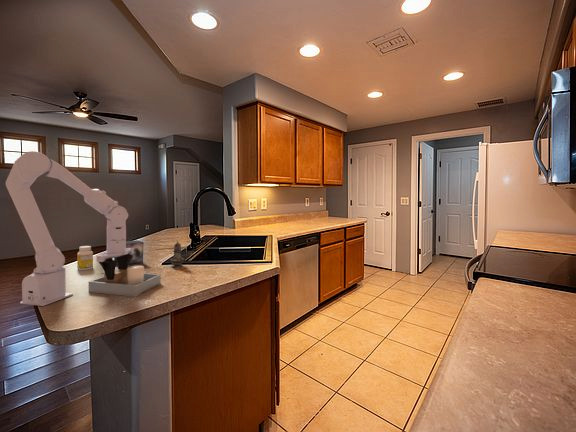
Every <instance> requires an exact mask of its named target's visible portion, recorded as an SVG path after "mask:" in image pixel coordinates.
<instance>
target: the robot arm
mask: <svg viewBox="0 0 576 432" xmlns="http://www.w3.org/2000/svg"><path fill="white" fill-rule="evenodd" d="M12 165H13V166H12V167H11V170H10V172H9V174H8V175H7V178H6V180H5V187H6V189H7V191H8V193H9V196H10V197H11V199H12V202H13V204H14V207H15V210H16V211H17V214H18V215H19V217H20V220H21V223H22V224H23V227H24V229H25V231H26V234H27V235H28V237H29V239H30V242H31V244H32V246H33V248H34V251H35V255H34V260H35V262H36V263H35V264H36V267H35V268H33V272H32V273H31V274H30V275H27V276H25V277H24V278H23V279H22V282H21V295H22V296H21V298H22V300H21V301H20V302H19V304H21V305H30V306H39V307H44V306H47V305H50V304H52V303H54V302H57V301H60V300H63V299H65V298H68V297H71V296H73V295H74V293H73V292H66V291H67V289H66V288H67V287H66V284H67V283H66V266H65V262H66V258H65V255H64V254H63V253H62V251H61V250H60V248H58V247H57V246H56V245H55V243H54V240H53V238H52V237H51V234H50V231H49V229H48V226H47V224H46V223H45V220H44V217H43V215H42V212H41V210H40V208H39V206H38V203H37V201H36V199H35V197H34V194H33V192H32V189H31V186H32V185H33V183H35V181H36V180H37V179H38V177H40V176H41V175H42V176H43V175H44V174H45V173H46V175H45V177H49V178H53V179H57V180H59V181H61V182H62V183H64V184H65V185H67V186H69V187H70V188H72V190H74V191H76V192H78V193H79V194H80V195H81V196H83V200H84V203H85V204H87V205H88V206H90V207H91V208H93V210H95V211H97V212H98V213H100V214H101V215H104V217H105V219H106V251H105V252H103V253H101V254H99V255H96V262H97V263H98V264H99V265H100V266H101V267H102V269H103V272H105V274H106V278H107V280H113V279H114V275H115V269H116V267H117V269H123V270H128V267H129V266H130V265H129V263H130V261H131V259H132V258H133V255H129V254H130V253H131V254H132V253H134V248H126V241H127V226H126V223H127V222H126V221H127V219H128V218H129V213H128V211H127V209H126V208H125V207H124V206H121V205H119V201H117V200H114V199H112V198H111V197H109V196H108V195H107V192H106V191H105V190H104V189H103V190H100V189H99V188H91V187H90V186H88V185H87V184H86V183H85V182H83V181H82V180H81V179H80V178H78V177H77V176H75V175H74V173H72V172H71V171H70V170H68V169H67V168H66V167H64V166H63V165H61V164H60V163H59V162H57V161H55V160H53V159H52V158H51V159H49V157H48V156H47V155H45V154H44V153H42V152H39V151H34V150H32V151H27V152H24V153H23V154H21V155H20V156H19V157H18V158H17V159H16V160H15V161H14V162H13V164H12ZM115 257H116V259H117V261H116V260H114V258H115ZM117 263H118V266H116V264H117ZM128 265H129V266H128Z"/></svg>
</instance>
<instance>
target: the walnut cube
mask: <svg viewBox="0 0 576 432" xmlns="http://www.w3.org/2000/svg"><path fill="white" fill-rule="evenodd" d="M103 272H104V271H103ZM104 282H105V283H115V284H128V269H127V270H123V269H118V268H115V275H114V279H113V280H107V278H106V274H105V272H104Z"/></svg>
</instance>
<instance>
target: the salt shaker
mask: <svg viewBox="0 0 576 432" xmlns="http://www.w3.org/2000/svg"><path fill="white" fill-rule="evenodd" d="M181 246H182V245H181V243H179V241H176V243H175V244H174V246H173V252H172V253H173V257H172V258H170V259H169V260H170V262H171V264H172V265H171V266H170V268H172V269H181V267H182V268H183V267H184V265H183V262H184V261H185V258H183V257H182V247H181Z"/></svg>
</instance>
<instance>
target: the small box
mask: <svg viewBox="0 0 576 432" xmlns="http://www.w3.org/2000/svg"><path fill="white" fill-rule="evenodd" d="M144 244H145V243H144V241H142V240H141V241H140V240H137V239H135V240H134V239H133V240H126V248H134V253H132V254H131V253H130V254H129V255H133V258H132V259H131V261H130V263H129V265H128V267H130V266H136V265H140V264H144ZM113 260H116V261H117V259H116V257H115V258H113ZM116 267H118V263H117V264H116Z"/></svg>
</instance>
